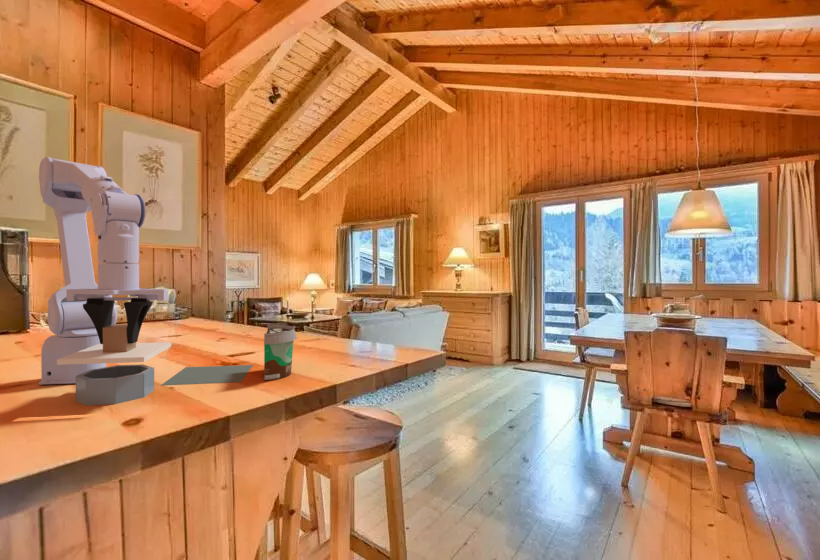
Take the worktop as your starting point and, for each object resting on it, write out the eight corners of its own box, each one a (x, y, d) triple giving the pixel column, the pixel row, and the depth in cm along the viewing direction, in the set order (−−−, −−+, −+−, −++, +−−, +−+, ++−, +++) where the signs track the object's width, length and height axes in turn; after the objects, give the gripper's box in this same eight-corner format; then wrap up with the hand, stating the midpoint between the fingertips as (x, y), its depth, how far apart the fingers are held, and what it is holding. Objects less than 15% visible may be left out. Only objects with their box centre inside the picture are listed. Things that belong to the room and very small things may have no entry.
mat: (160, 387, 75) (160, 385, 75) (185, 369, 89) (185, 367, 89) (240, 384, 78) (240, 381, 78) (253, 367, 92) (253, 364, 92)
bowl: (64, 409, 63) (64, 380, 63) (99, 390, 73) (99, 365, 73) (136, 405, 65) (136, 378, 65) (160, 387, 75) (160, 363, 75)
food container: (297, 383, 79) (297, 332, 79) (263, 385, 77) (264, 333, 77) (296, 368, 91) (296, 324, 91) (267, 370, 89) (267, 325, 89)
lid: (57, 364, 62) (56, 332, 62) (98, 348, 74) (98, 321, 74) (144, 362, 65) (143, 331, 65) (171, 346, 76) (170, 320, 76)
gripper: (54, 262, 63) (54, 348, 64) (156, 264, 66) (157, 346, 67) (80, 262, 70) (80, 340, 70) (172, 264, 73) (172, 338, 74)
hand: (119, 342), depth 69 cm, fingers closed on lid, 3 cm apart
